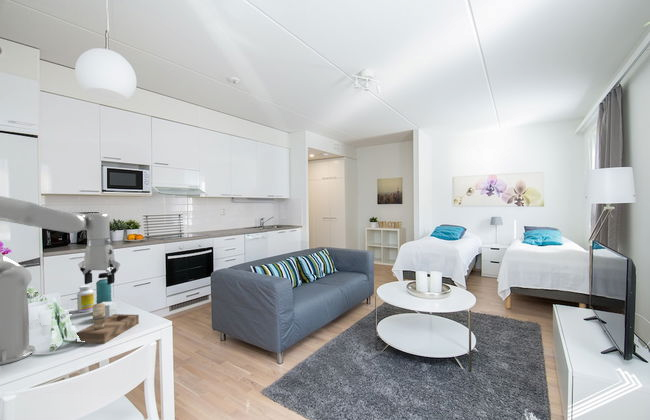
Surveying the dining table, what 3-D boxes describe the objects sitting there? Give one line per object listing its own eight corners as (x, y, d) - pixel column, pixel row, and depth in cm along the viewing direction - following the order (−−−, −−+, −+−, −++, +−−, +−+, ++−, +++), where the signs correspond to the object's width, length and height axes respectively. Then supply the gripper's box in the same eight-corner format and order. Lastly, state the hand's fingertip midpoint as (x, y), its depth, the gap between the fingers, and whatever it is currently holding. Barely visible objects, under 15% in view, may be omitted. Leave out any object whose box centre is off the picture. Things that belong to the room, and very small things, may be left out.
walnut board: (104, 343, 121) (104, 333, 120) (76, 342, 121) (76, 332, 121) (138, 323, 141) (138, 314, 140) (114, 322, 141) (114, 314, 141)
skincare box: (116, 315, 150) (116, 300, 150) (109, 320, 144) (109, 305, 144) (103, 316, 150) (103, 301, 149) (96, 320, 143) (95, 305, 143)
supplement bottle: (97, 308, 160) (96, 284, 159) (84, 313, 153) (83, 288, 153) (87, 307, 161) (86, 283, 161) (74, 312, 155) (73, 287, 154)
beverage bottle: (103, 314, 152) (102, 275, 151) (92, 313, 153) (92, 274, 152) (115, 309, 158) (114, 272, 157) (104, 308, 159) (103, 271, 159)
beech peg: (100, 330, 123) (99, 306, 123) (90, 330, 123) (89, 306, 123) (108, 326, 127) (107, 303, 127) (98, 326, 128) (98, 302, 127)
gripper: (125, 241, 128) (126, 281, 129) (86, 241, 129) (87, 280, 130) (112, 244, 121) (112, 286, 121) (70, 243, 122) (71, 285, 122)
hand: (99, 283), depth 125 cm, fingers open, 9 cm apart
